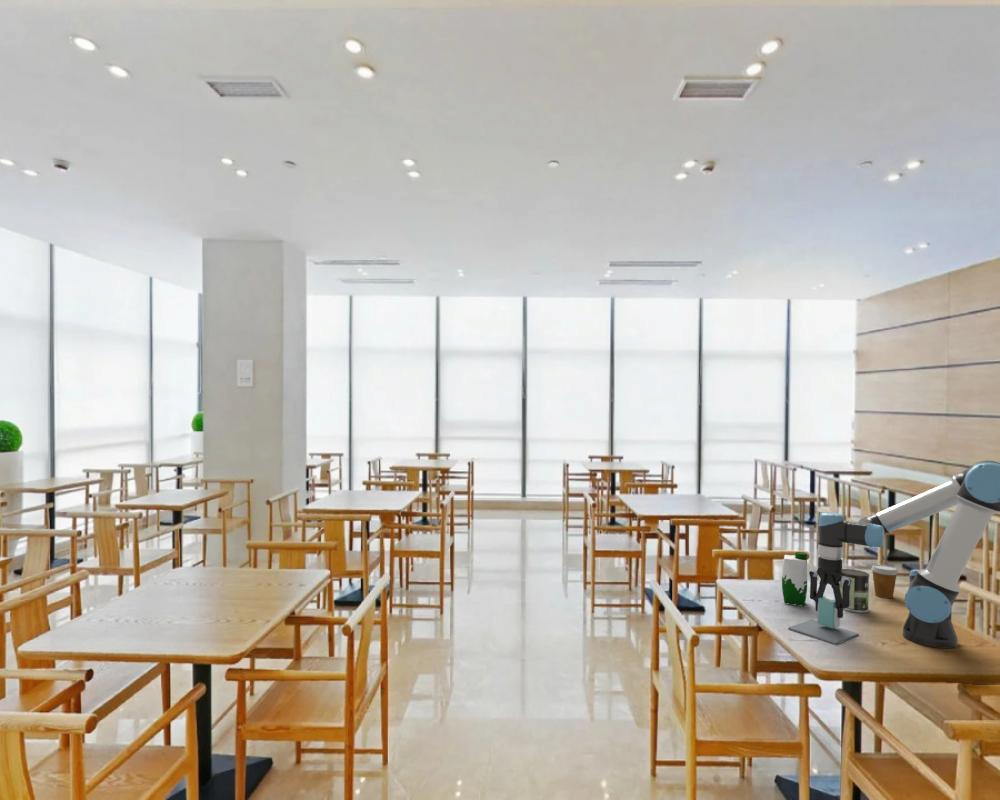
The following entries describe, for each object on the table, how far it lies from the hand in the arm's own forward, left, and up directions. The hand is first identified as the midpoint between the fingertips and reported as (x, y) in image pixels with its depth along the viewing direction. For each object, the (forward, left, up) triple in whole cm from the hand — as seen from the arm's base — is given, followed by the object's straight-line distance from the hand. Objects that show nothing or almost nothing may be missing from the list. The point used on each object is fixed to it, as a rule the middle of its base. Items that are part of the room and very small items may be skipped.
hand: (828, 623), depth 209 cm
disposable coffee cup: (+8, -62, -2) cm, 63 cm away
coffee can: (+7, -33, -2) cm, 34 cm away
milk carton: (+23, -19, -2) cm, 30 cm away
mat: (0, +4, -2) cm, 5 cm away
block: (0, 0, 0) cm, 0 cm away
